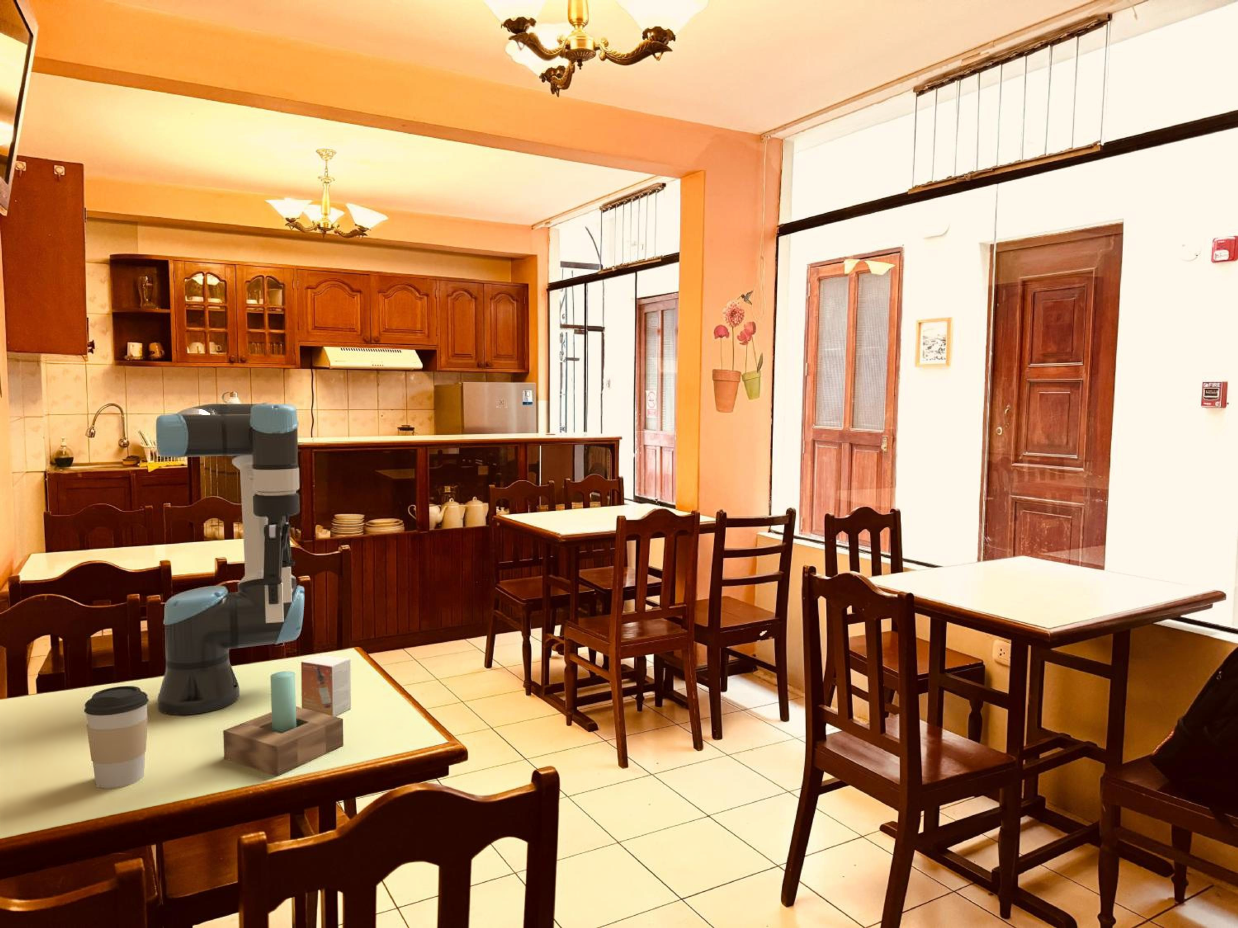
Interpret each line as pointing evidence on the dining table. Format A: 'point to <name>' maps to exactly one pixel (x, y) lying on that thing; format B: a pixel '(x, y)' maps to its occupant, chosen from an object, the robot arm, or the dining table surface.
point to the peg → (283, 701)
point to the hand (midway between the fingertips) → (279, 611)
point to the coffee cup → (117, 735)
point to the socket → (283, 741)
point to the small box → (326, 684)
